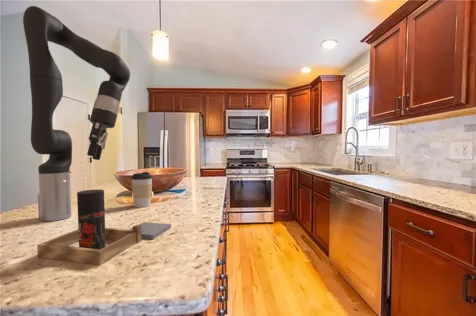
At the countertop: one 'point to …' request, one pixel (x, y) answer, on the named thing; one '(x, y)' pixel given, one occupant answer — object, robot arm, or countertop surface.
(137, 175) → the coffee cup
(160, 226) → the slate coaster
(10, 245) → the countertop surface
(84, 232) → the deodorant
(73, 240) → the wood frame
